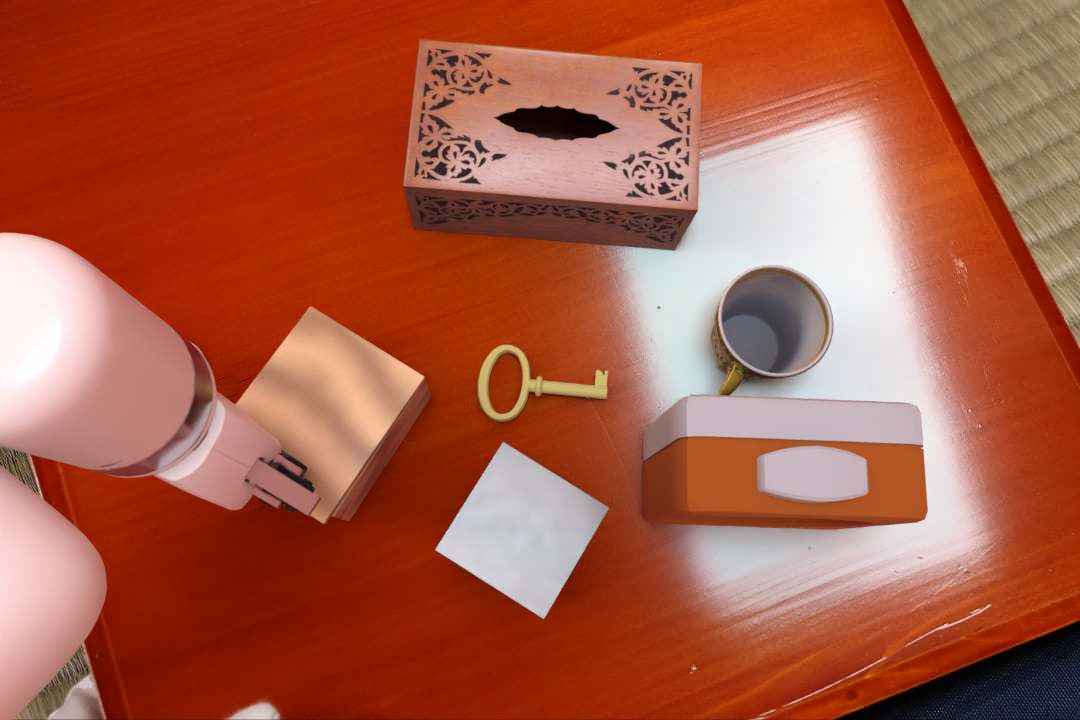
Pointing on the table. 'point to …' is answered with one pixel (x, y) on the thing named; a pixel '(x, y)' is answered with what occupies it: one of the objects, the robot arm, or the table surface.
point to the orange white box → (784, 463)
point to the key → (532, 385)
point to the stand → (522, 530)
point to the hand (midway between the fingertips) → (230, 447)
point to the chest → (382, 455)
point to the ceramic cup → (770, 326)
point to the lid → (329, 403)
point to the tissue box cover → (553, 145)
